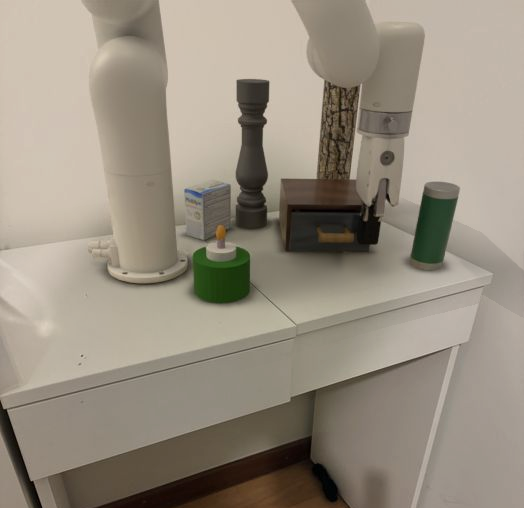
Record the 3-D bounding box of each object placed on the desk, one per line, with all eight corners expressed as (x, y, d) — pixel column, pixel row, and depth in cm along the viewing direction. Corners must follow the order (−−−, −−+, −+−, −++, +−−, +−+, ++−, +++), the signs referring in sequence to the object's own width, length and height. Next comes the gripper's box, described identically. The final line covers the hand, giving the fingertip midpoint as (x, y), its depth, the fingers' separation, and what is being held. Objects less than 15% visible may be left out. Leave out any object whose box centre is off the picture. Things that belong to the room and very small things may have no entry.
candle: (192, 303, 73) (189, 236, 68) (195, 278, 80) (192, 215, 75) (251, 303, 74) (252, 236, 68) (248, 277, 81) (249, 215, 75)
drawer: (375, 263, 84) (381, 225, 81) (292, 262, 84) (294, 224, 80) (352, 222, 101) (356, 189, 97) (283, 221, 100) (284, 188, 96)
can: (414, 270, 85) (430, 190, 77) (405, 257, 89) (420, 181, 82) (446, 270, 85) (465, 191, 78) (436, 257, 89) (453, 181, 82)
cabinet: (368, 251, 91) (375, 205, 86) (285, 251, 90) (287, 204, 86) (352, 221, 104) (357, 179, 99) (278, 220, 103) (280, 178, 99)
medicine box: (213, 224, 101) (212, 178, 96) (231, 229, 98) (231, 183, 94) (185, 235, 95) (183, 188, 90) (204, 241, 93) (202, 193, 88)
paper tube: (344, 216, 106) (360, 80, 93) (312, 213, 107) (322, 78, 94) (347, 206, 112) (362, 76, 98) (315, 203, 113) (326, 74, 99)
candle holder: (238, 217, 104) (238, 78, 91) (268, 219, 104) (273, 79, 90) (232, 227, 99) (231, 81, 85) (264, 230, 98) (268, 83, 85)
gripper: (424, 133, 69) (401, 261, 79) (396, 114, 81) (379, 227, 91) (368, 132, 68) (352, 261, 78) (349, 113, 81) (337, 226, 91)
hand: (366, 242), depth 85 cm, fingers closed
